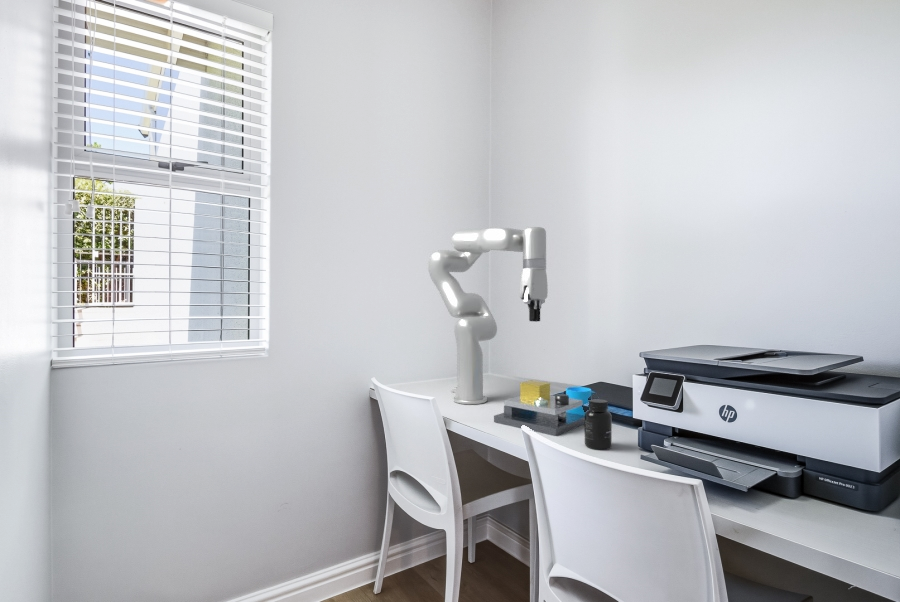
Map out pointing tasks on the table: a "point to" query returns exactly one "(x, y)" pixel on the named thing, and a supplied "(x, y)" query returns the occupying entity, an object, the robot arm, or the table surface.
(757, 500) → the table surface
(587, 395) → the mug
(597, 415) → the supplement bottle
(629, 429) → the table surface
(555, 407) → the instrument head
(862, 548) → the table surface
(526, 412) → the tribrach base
